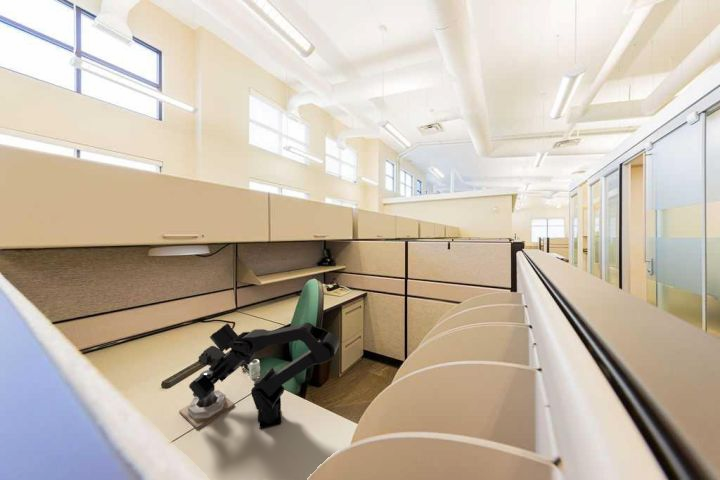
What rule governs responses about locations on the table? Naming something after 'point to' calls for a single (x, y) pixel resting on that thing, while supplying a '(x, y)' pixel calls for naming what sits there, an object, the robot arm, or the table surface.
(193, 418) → the bore block
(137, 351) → the table surface
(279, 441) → the table surface
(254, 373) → the valve
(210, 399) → the metal pin
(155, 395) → the table surface
